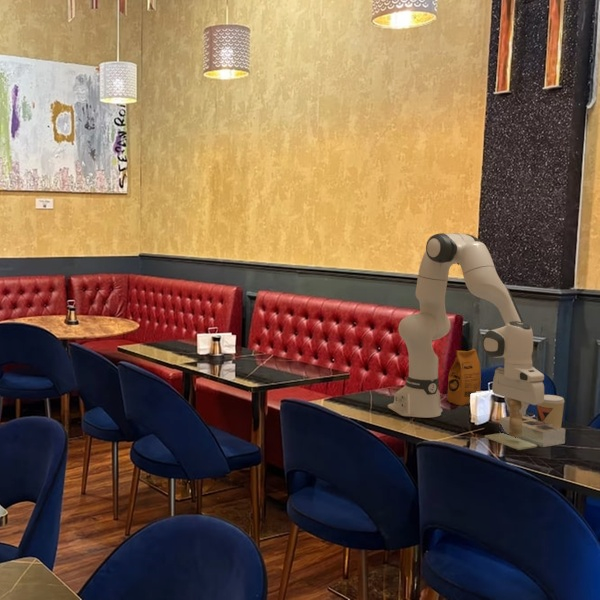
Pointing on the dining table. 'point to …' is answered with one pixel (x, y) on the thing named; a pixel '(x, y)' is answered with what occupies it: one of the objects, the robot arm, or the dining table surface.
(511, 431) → the plug
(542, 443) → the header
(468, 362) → the coffee package
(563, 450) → the dining table surface
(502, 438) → the mat
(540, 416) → the coffee cup
